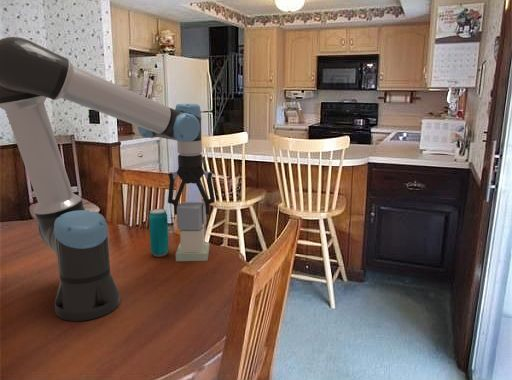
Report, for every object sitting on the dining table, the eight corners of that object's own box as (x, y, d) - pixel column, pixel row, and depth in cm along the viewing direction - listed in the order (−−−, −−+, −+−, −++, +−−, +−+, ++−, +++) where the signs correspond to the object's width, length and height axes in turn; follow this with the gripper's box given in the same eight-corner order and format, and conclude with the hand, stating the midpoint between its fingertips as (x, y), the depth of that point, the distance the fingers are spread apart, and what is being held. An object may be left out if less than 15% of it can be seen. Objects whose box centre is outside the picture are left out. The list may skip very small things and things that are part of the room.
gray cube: (199, 230, 131) (198, 208, 130) (177, 229, 132) (176, 207, 130) (204, 223, 138) (203, 202, 136) (183, 222, 139) (182, 201, 137)
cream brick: (203, 251, 135) (202, 231, 134) (181, 252, 135) (180, 231, 133) (204, 244, 142) (204, 224, 140) (183, 244, 142) (183, 224, 140)
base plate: (207, 260, 134) (207, 253, 134) (175, 261, 134) (175, 253, 133) (209, 249, 144) (209, 242, 143) (179, 249, 144) (179, 242, 143)
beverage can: (169, 250, 143) (167, 208, 139) (167, 257, 137) (166, 213, 134) (152, 251, 142) (150, 208, 139) (149, 257, 137) (147, 213, 133)
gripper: (222, 152, 135) (224, 219, 141) (159, 152, 135) (162, 220, 140) (222, 155, 128) (223, 226, 133) (154, 155, 127) (158, 227, 132)
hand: (192, 223), depth 137 cm, fingers closed on gray cube, 7 cm apart
